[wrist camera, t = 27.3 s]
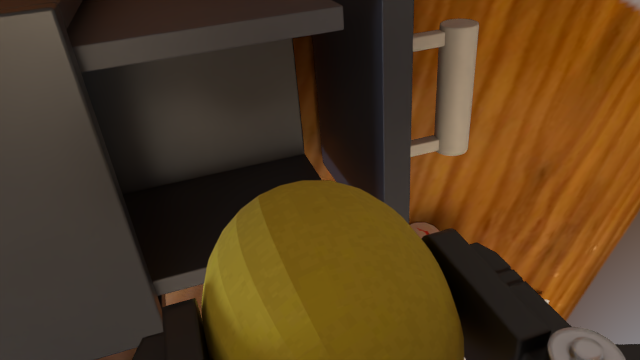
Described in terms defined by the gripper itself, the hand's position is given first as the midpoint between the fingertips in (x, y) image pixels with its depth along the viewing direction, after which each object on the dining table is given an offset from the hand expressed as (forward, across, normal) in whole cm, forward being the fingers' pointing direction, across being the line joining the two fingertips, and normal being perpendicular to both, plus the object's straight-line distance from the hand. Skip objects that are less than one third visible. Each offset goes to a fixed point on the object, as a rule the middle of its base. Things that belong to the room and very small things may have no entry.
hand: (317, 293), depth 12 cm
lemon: (+4, 0, 0) cm, 4 cm away
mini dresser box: (+16, -1, 0) cm, 16 cm away
